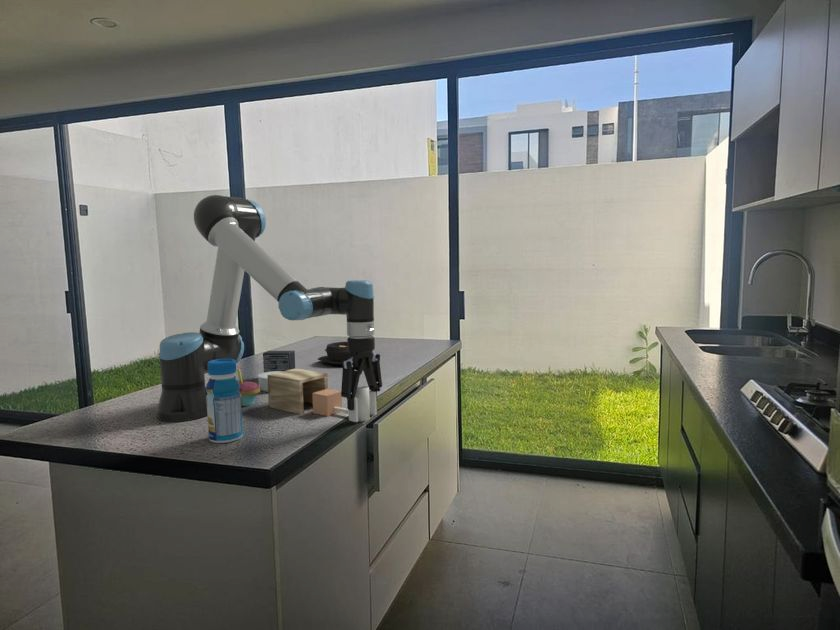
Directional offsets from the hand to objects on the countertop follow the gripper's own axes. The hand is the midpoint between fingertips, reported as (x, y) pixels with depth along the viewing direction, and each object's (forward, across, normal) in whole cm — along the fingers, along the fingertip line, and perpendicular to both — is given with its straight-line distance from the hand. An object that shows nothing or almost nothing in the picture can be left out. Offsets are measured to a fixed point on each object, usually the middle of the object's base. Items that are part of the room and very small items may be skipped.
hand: (363, 417), depth 153 cm
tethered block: (+1, 0, +7) cm, 7 cm away
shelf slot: (+1, 0, +26) cm, 26 cm away
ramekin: (+1, +11, +50) cm, 51 cm away
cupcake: (+1, -7, +42) cm, 43 cm away
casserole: (+1, +58, +60) cm, 83 cm away
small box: (+1, +23, +61) cm, 65 cm away
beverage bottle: (+1, -31, +19) cm, 36 cm away
